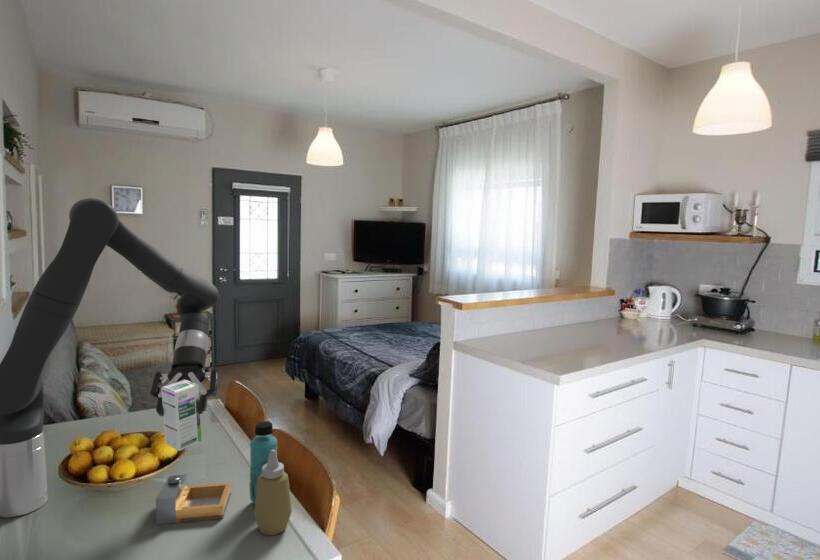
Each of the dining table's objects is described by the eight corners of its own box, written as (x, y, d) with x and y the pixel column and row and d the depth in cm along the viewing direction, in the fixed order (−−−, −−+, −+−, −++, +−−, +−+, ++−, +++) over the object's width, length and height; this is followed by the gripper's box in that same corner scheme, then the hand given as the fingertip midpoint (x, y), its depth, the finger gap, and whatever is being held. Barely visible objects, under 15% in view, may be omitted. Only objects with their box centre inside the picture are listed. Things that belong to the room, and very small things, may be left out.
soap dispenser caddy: (156, 524, 104) (155, 495, 104) (170, 498, 114) (169, 472, 113) (223, 518, 107) (222, 490, 106) (230, 494, 117) (230, 468, 116)
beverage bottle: (243, 506, 112) (242, 426, 110) (262, 492, 118) (261, 416, 116) (266, 513, 109) (265, 431, 107) (283, 498, 116) (283, 421, 113)
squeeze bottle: (281, 542, 100) (281, 462, 98) (247, 536, 101) (246, 457, 99) (298, 519, 108) (298, 444, 106) (265, 514, 109) (265, 440, 107)
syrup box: (179, 452, 107) (176, 392, 104) (164, 443, 110) (160, 385, 107) (201, 441, 112) (199, 384, 109) (186, 433, 115) (184, 378, 112)
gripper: (156, 345, 114) (142, 409, 104) (218, 343, 117) (210, 405, 107) (163, 360, 120) (151, 422, 110) (223, 357, 123) (216, 417, 113)
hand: (180, 413), depth 109 cm, fingers closed on syrup box, 8 cm apart
